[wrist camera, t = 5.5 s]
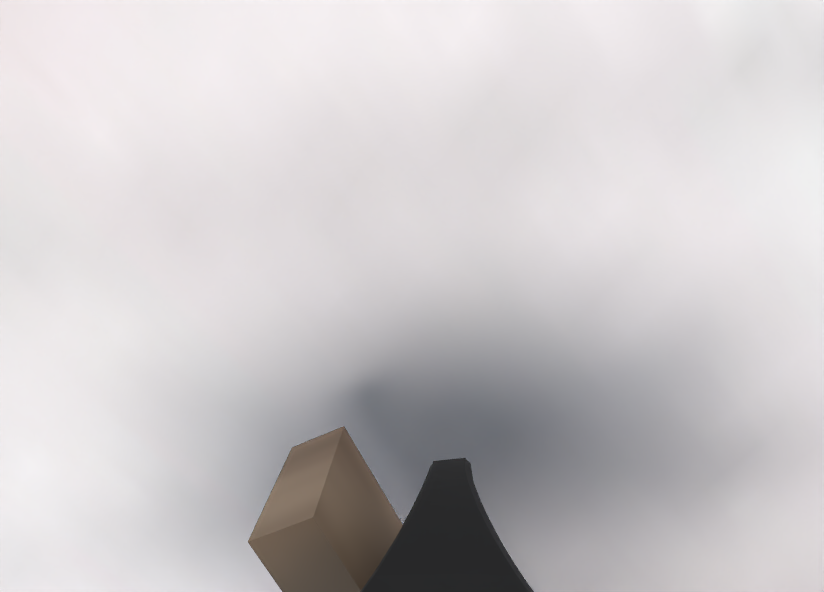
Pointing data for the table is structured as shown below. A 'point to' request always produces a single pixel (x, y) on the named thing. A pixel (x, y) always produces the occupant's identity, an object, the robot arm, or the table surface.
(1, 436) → the table surface
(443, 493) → the robot arm
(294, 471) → the flipper lever
